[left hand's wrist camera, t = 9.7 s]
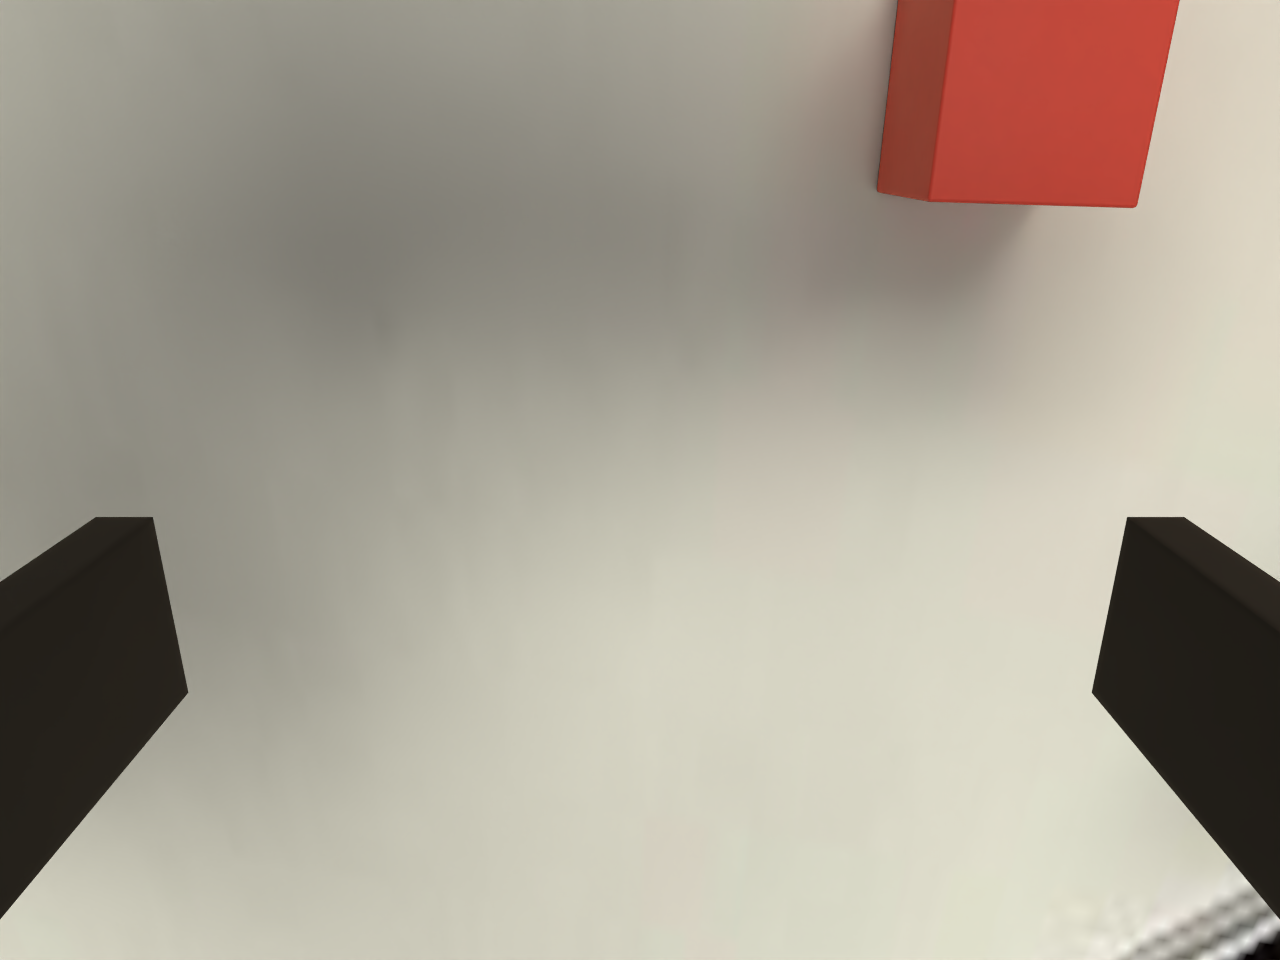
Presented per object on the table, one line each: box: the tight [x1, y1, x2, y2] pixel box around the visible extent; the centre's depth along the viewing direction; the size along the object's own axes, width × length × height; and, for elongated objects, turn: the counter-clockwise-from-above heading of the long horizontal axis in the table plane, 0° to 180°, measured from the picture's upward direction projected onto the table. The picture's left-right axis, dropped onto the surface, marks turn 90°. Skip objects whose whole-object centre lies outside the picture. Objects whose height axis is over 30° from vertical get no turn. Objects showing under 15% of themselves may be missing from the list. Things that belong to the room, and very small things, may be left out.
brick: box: [877, 0, 1180, 208], centre depth 19 cm, size 4×4×4 cm
